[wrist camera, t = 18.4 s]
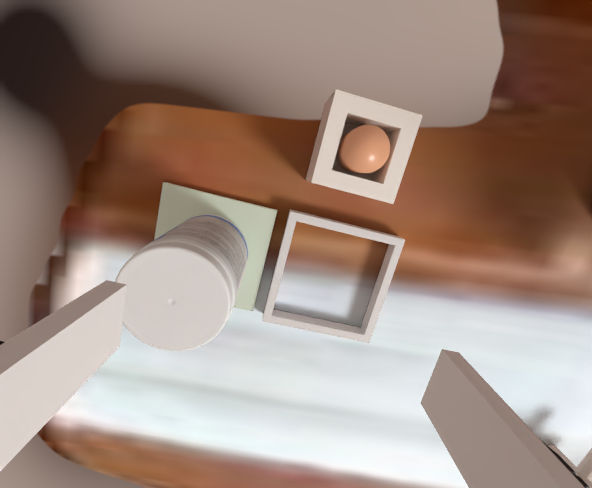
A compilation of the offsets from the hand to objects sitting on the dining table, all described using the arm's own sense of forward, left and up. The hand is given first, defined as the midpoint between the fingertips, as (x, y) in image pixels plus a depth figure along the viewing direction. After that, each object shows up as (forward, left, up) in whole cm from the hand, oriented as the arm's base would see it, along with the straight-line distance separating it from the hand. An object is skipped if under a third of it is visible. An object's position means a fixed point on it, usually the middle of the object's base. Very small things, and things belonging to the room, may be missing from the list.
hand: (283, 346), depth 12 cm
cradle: (-8, +5, -27) cm, 29 cm away
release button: (-6, -11, -25) cm, 28 cm away
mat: (+8, +5, -27) cm, 29 cm away
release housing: (-6, -11, -27) cm, 30 cm away
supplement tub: (+8, +5, -27) cm, 28 cm away
